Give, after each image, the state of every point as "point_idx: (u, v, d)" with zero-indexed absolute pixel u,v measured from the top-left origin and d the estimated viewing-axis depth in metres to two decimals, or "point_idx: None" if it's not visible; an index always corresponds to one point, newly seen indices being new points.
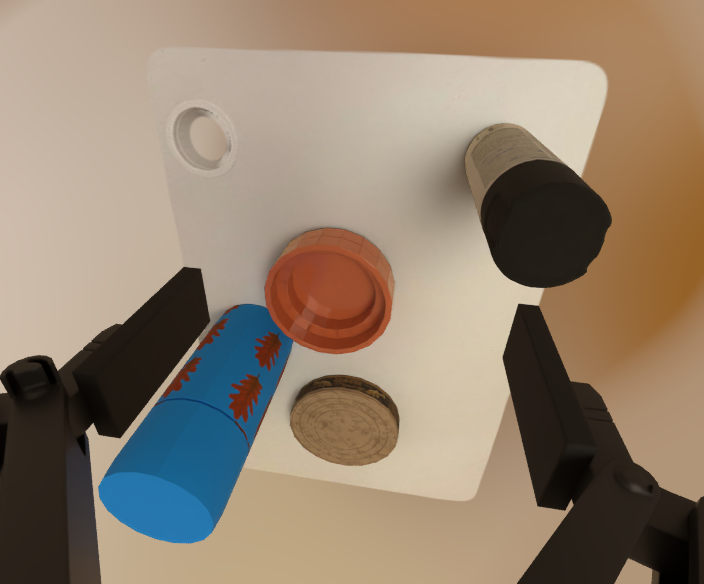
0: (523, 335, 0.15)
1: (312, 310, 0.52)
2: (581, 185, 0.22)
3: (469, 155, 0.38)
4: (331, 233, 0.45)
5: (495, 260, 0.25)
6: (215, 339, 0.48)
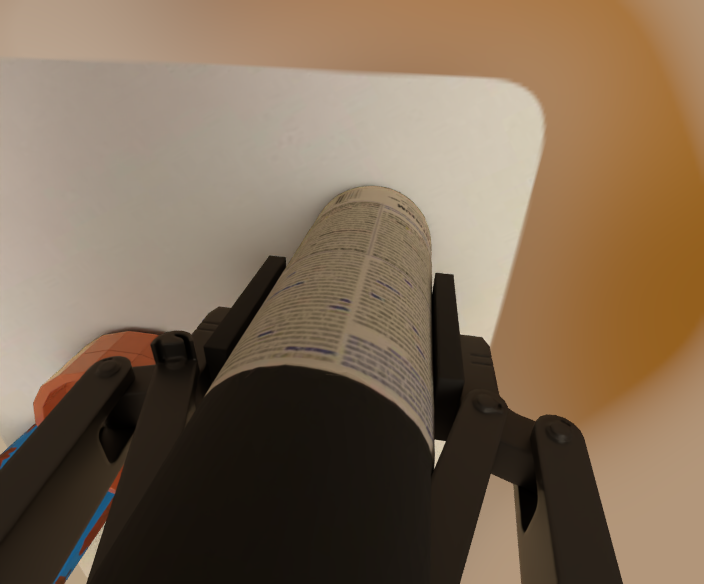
0: (435, 298, 0.17)
1: None
2: None
3: None
4: (129, 344, 0.29)
5: None
6: None
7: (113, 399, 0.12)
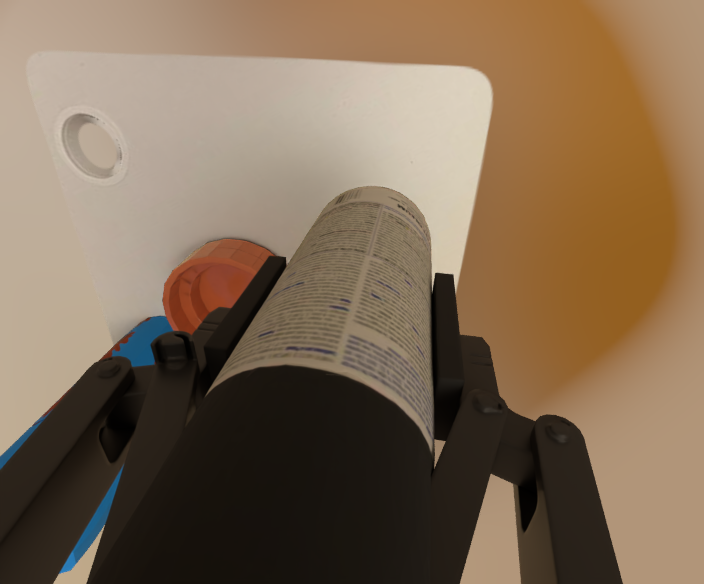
0: (434, 298, 0.17)
1: None
2: None
3: None
4: (229, 244, 0.43)
5: None
6: (114, 354, 0.46)
7: (113, 399, 0.12)
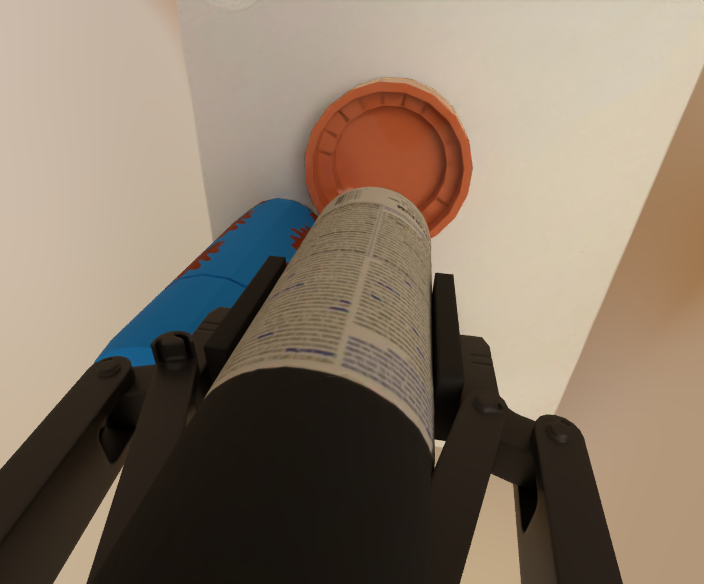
0: (434, 298, 0.17)
1: None
2: None
3: None
4: (393, 79, 0.35)
5: None
6: (240, 226, 0.38)
7: (113, 399, 0.12)
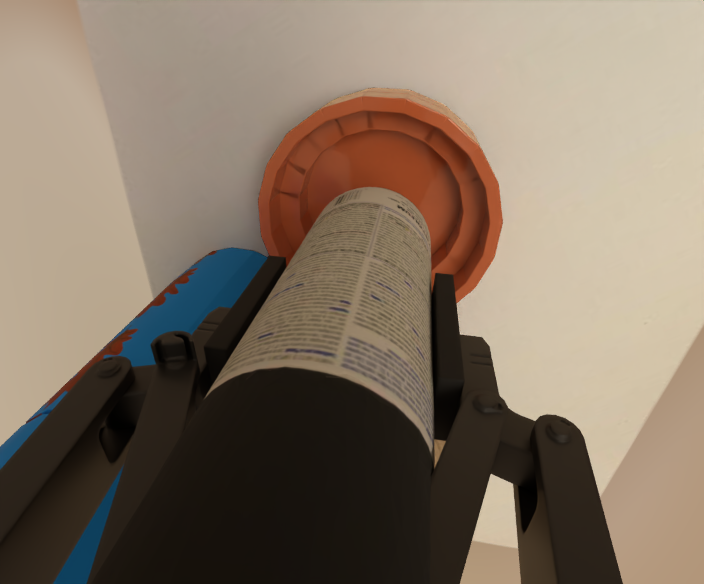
0: (434, 298, 0.17)
1: None
2: None
3: None
4: (386, 90, 0.23)
5: None
6: (169, 298, 0.26)
7: (113, 399, 0.12)
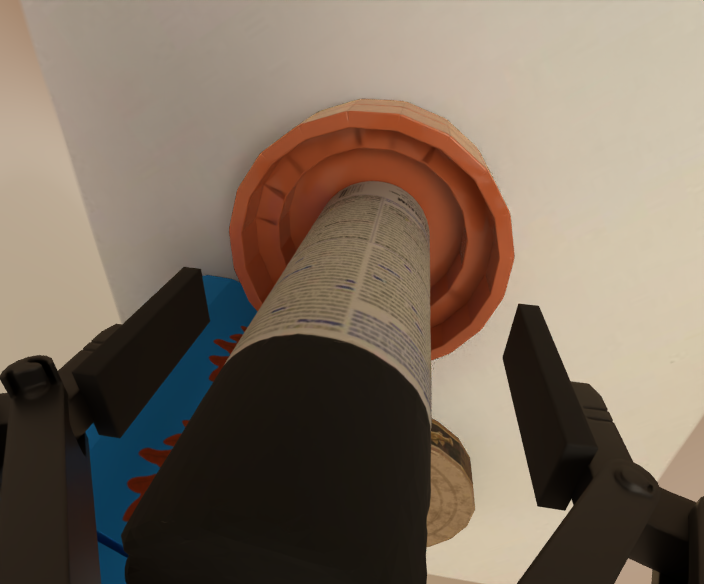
0: (523, 335, 0.15)
1: None
2: (302, 525, 0.07)
3: None
4: (377, 103, 0.20)
5: None
6: None
7: None
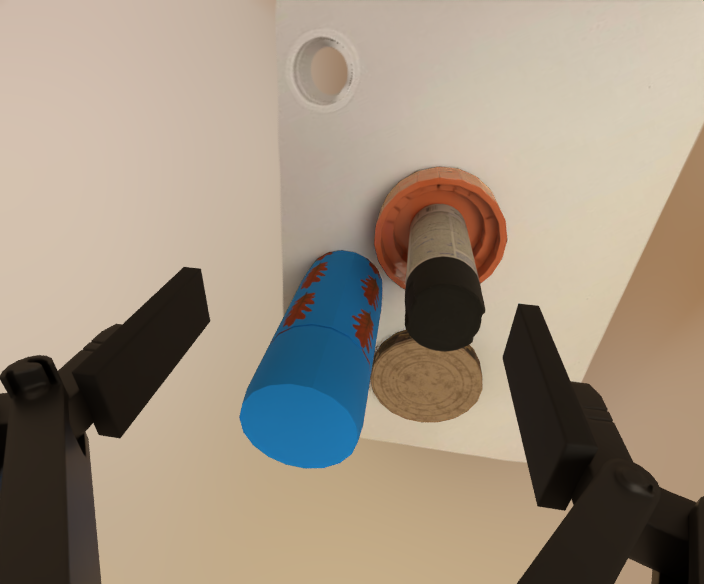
0: (523, 335, 0.15)
1: None
2: (462, 286, 0.32)
3: (411, 229, 0.47)
4: (447, 170, 0.45)
5: (408, 332, 0.34)
6: (322, 278, 0.48)
7: None
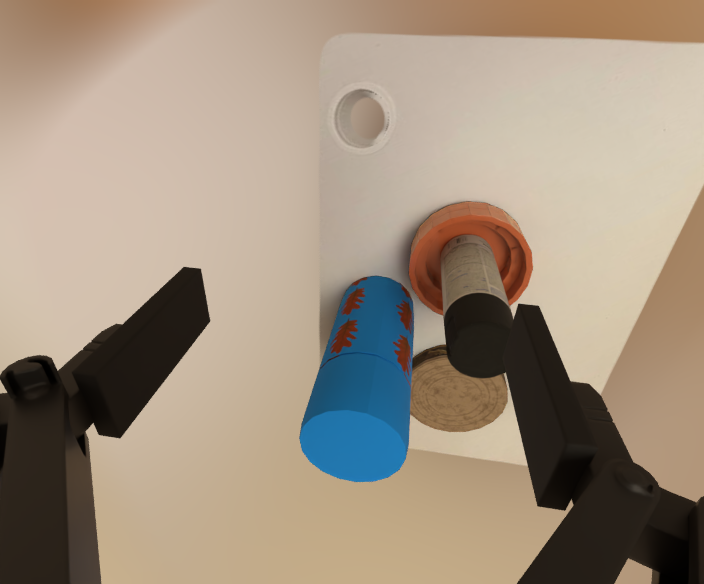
0: (523, 335, 0.15)
1: (439, 280, 0.56)
2: (499, 323, 0.36)
3: (442, 259, 0.51)
4: (476, 206, 0.49)
5: (450, 361, 0.38)
6: (361, 305, 0.52)
7: None
